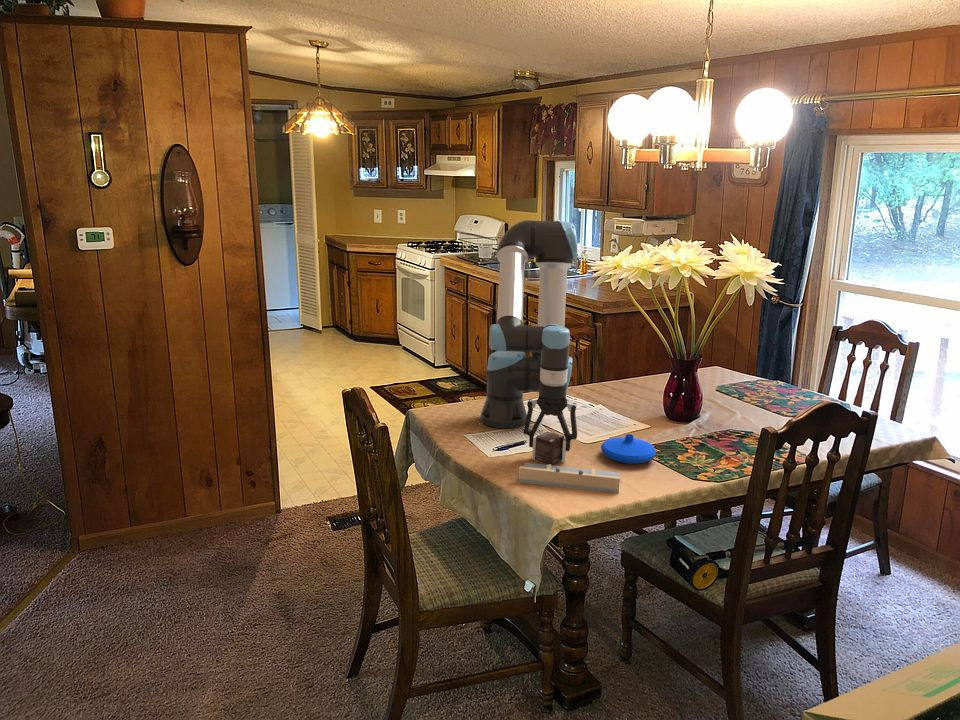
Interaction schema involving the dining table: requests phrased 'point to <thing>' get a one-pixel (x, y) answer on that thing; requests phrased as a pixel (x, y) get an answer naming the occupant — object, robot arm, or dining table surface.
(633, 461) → the blue knobbed lid
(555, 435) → the box
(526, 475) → the board
